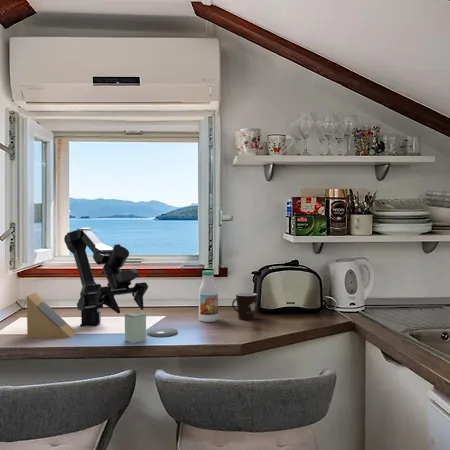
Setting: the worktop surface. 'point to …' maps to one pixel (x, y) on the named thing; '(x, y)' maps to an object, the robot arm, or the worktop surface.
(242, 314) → the coffee mug
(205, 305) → the milk bottle
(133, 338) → the pale green block
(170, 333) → the coaster
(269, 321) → the worktop surface
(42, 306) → the sandwich container
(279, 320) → the worktop surface
